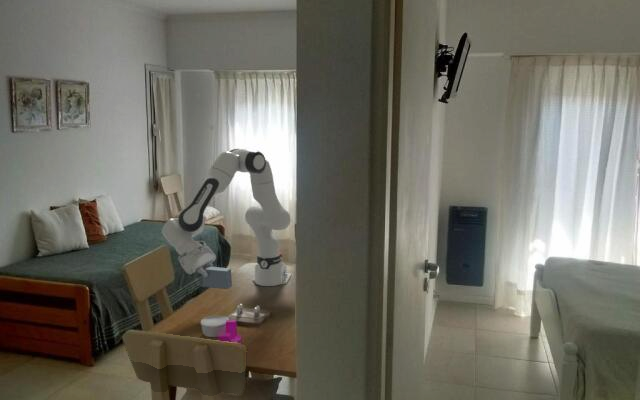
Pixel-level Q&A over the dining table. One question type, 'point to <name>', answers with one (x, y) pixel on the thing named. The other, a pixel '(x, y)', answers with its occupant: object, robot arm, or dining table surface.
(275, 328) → the dining table surface
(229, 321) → the toy block
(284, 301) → the dining table surface
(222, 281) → the slate block
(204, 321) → the ramekin
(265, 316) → the peg stand
